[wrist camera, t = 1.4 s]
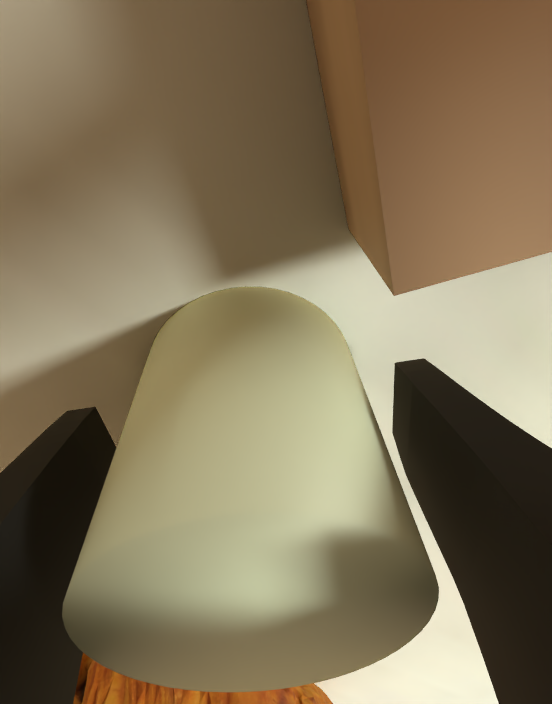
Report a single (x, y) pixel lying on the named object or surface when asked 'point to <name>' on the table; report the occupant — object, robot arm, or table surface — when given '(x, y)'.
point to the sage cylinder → (249, 511)
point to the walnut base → (440, 131)
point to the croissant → (176, 691)
